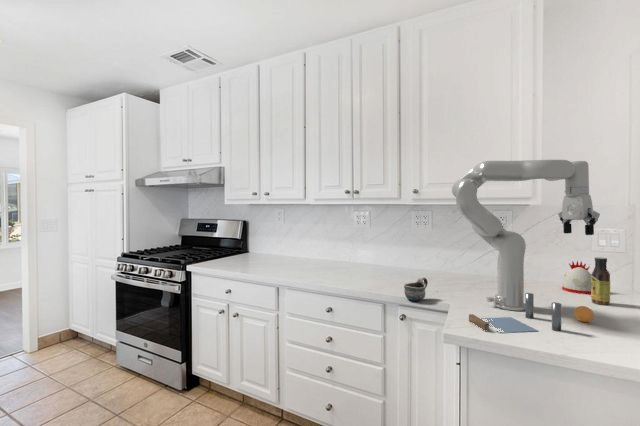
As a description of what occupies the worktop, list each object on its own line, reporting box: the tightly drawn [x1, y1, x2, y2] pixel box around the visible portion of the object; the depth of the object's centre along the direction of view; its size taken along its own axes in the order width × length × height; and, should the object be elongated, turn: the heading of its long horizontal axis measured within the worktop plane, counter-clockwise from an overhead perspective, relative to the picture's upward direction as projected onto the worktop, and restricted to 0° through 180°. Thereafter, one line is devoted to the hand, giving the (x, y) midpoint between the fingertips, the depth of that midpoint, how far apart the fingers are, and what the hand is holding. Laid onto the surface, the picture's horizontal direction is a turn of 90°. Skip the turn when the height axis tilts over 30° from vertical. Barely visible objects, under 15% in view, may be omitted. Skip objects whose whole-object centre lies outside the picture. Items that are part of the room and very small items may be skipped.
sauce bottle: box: [590, 256, 611, 306], centre depth 140 cm, size 7×6×20 cm
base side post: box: [524, 292, 535, 320], centre depth 123 cm, size 3×3×9 cm
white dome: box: [561, 260, 592, 295], centre depth 162 cm, size 14×14×15 cm
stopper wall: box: [468, 313, 490, 331], centre depth 115 cm, size 2×10×2 cm, turn 5°
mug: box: [403, 276, 429, 302], centre depth 149 cm, size 10×12×10 cm
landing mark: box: [480, 316, 539, 333], centre depth 115 cm, size 14×14×1 cm
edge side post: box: [551, 302, 562, 332], centre depth 110 cm, size 3×3×9 cm
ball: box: [573, 305, 595, 323], centre depth 118 cm, size 6×6×6 cm
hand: (578, 234), depth 132 cm, fingers open, 9 cm apart
